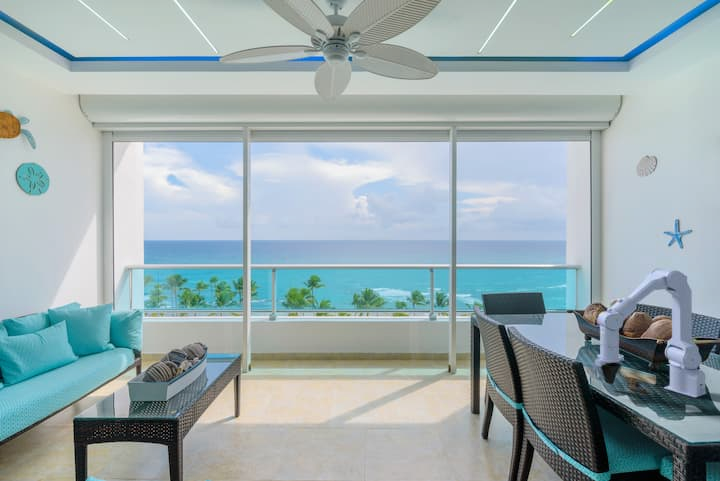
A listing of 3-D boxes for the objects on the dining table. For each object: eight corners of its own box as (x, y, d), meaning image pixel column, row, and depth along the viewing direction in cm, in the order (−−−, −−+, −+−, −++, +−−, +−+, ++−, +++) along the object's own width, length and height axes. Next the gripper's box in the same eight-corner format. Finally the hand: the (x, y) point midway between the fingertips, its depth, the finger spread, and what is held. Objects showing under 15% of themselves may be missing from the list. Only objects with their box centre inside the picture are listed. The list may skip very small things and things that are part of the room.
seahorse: (632, 392, 141) (633, 387, 141) (621, 378, 155) (622, 374, 154) (650, 395, 139) (651, 390, 139) (638, 381, 153) (639, 377, 152)
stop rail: (656, 383, 148) (656, 375, 148) (654, 384, 148) (654, 375, 148) (622, 374, 159) (622, 366, 159) (620, 374, 159) (620, 366, 159)
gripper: (609, 340, 150) (610, 376, 150) (586, 345, 143) (586, 382, 143) (629, 344, 144) (629, 382, 144) (606, 350, 137) (606, 389, 137)
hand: (609, 382), depth 143 cm, fingers closed
